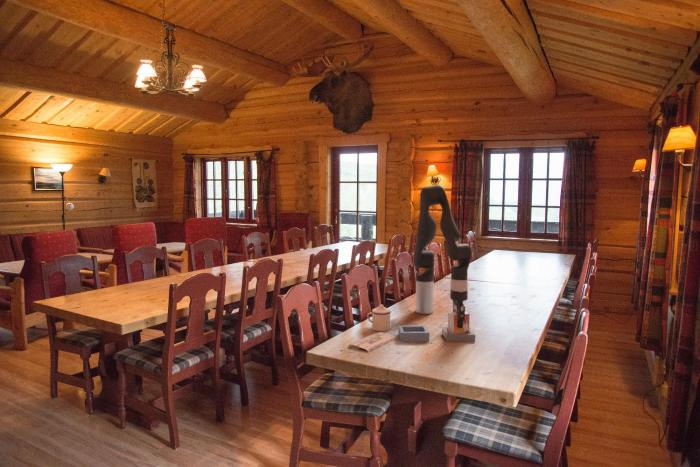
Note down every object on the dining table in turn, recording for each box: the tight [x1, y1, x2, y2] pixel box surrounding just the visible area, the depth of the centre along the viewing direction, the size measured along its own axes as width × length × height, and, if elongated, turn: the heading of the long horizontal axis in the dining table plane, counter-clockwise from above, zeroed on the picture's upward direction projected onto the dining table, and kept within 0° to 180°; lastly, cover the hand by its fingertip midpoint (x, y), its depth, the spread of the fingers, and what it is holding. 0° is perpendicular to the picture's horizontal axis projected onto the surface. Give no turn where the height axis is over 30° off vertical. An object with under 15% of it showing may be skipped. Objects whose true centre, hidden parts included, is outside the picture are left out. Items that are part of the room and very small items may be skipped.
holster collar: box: [441, 326, 476, 342], centre depth 211 cm, size 10×12×3 cm
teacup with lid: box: [366, 304, 392, 332], centre depth 225 cm, size 12×9×12 cm
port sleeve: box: [398, 325, 430, 343], centre depth 211 cm, size 10×12×4 cm
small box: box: [447, 311, 470, 334], centre depth 211 cm, size 8×6×10 cm
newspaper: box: [348, 331, 398, 353], centre depth 206 cm, size 23×12×2 cm, turn 141°
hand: (458, 325), depth 211 cm, fingers closed on small box, 6 cm apart
